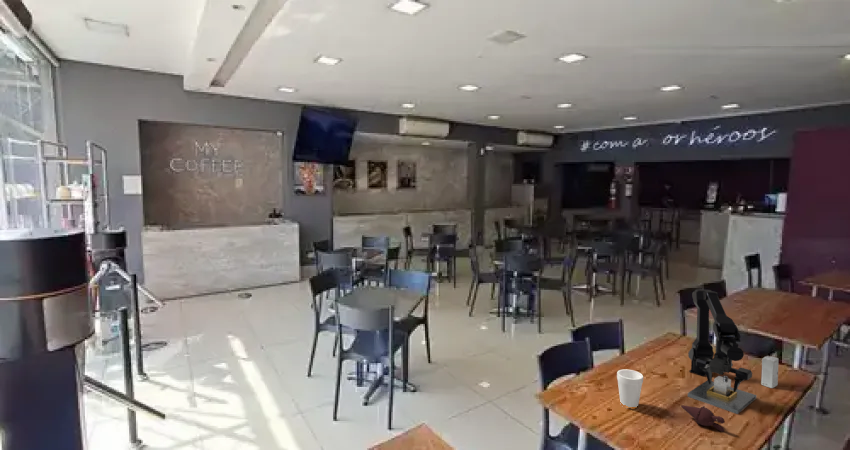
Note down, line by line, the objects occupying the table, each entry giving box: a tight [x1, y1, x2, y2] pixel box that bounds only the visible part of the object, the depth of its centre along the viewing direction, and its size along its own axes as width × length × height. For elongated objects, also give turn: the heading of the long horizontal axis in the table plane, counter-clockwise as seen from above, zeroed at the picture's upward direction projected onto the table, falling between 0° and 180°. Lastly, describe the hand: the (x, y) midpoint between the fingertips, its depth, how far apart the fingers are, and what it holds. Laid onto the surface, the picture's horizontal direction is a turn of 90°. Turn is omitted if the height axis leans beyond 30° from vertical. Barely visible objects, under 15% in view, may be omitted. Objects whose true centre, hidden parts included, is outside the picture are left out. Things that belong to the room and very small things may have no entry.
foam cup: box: [616, 368, 644, 407], centre depth 177 cm, size 10×9×13 cm
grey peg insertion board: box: [687, 379, 757, 415], centre depth 182 cm, size 18×20×3 cm
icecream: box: [680, 404, 726, 433], centre depth 162 cm, size 7×7×15 cm
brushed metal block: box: [713, 375, 732, 397], centre depth 182 cm, size 4×4×10 cm
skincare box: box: [760, 355, 779, 389], centre depth 192 cm, size 6×4×12 cm
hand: (722, 387), depth 182 cm, fingers open, 9 cm apart
